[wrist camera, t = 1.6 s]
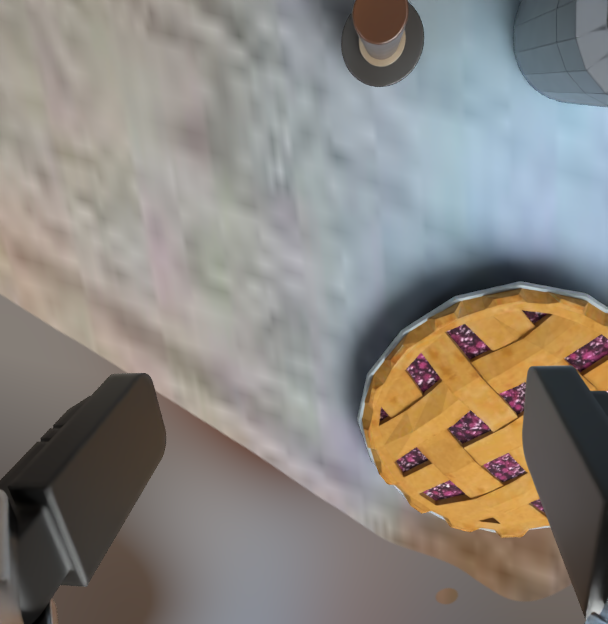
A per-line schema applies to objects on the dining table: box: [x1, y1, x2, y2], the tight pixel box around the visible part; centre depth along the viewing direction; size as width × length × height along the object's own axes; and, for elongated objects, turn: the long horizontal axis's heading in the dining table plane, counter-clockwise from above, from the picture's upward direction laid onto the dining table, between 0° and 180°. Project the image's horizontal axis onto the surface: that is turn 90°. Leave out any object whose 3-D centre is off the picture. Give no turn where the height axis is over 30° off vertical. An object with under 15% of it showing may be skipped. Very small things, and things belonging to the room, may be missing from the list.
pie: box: [357, 281, 608, 538], centre depth 38 cm, size 22×22×5 cm
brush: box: [341, 0, 424, 87], centre depth 24 cm, size 4×4×17 cm
